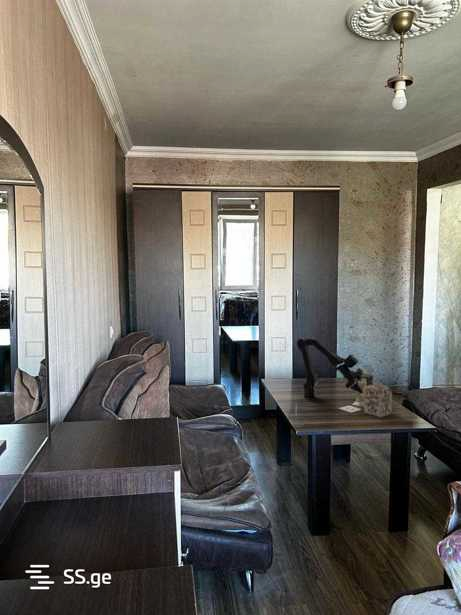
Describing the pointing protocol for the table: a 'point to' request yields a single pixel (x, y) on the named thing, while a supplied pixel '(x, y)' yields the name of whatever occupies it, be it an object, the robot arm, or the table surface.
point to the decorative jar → (378, 400)
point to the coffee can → (367, 379)
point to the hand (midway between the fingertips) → (363, 392)
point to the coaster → (358, 404)
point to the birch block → (358, 395)
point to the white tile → (350, 408)
